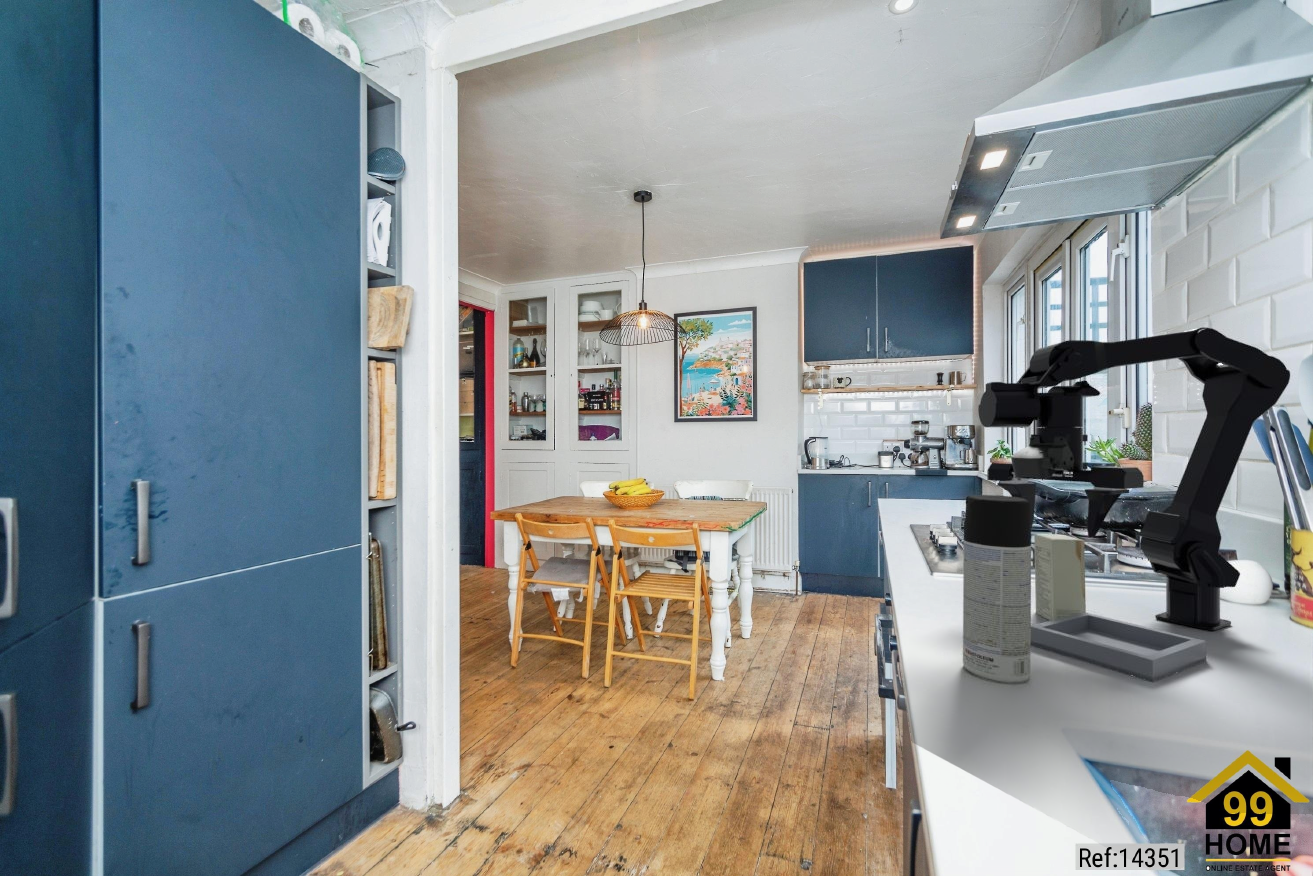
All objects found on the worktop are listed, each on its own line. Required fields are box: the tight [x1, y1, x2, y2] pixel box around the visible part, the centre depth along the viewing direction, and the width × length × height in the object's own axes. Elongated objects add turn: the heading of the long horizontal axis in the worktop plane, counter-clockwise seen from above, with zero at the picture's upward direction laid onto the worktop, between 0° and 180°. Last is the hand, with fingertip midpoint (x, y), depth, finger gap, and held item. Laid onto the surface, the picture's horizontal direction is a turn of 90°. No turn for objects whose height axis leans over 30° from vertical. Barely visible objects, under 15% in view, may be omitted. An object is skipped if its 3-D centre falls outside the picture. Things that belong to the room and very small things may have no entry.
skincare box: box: [1033, 533, 1087, 621], centre depth 85 cm, size 6×4×12 cm
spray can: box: [962, 494, 1032, 685], centre depth 65 cm, size 7×7×20 cm
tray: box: [1031, 611, 1207, 683], centre depth 71 cm, size 13×13×2 cm
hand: (1058, 532), depth 85 cm, fingers open, 8 cm apart
